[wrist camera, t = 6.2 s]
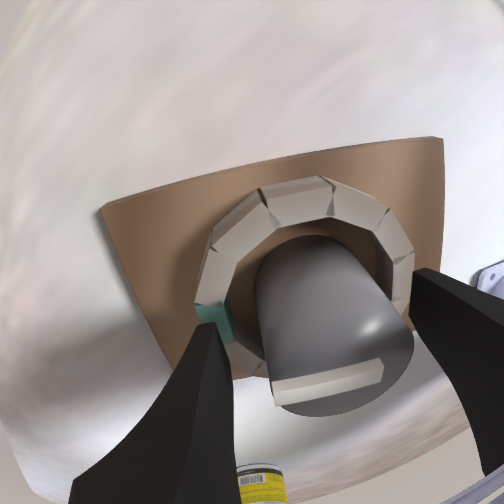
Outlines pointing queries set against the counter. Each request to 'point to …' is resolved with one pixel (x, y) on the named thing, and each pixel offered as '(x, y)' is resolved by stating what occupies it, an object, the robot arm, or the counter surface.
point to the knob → (327, 328)
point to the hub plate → (276, 235)
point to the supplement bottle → (261, 484)
